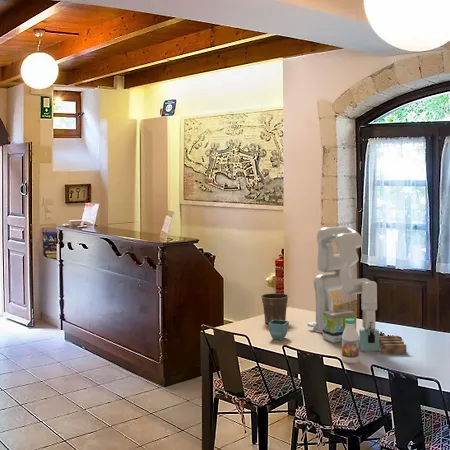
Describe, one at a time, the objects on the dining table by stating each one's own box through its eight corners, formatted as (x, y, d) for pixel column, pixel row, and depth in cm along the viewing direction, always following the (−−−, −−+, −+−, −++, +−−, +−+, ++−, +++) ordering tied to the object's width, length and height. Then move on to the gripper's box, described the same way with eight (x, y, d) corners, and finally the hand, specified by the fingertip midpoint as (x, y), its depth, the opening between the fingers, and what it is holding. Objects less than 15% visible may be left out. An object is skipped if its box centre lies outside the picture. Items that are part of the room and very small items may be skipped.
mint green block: (360, 350, 303) (360, 331, 302) (359, 349, 306) (359, 329, 305) (379, 350, 302) (378, 330, 301) (377, 348, 305) (377, 329, 304)
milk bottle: (340, 359, 290) (339, 317, 289) (355, 358, 291) (355, 317, 289) (344, 364, 283) (344, 321, 281) (360, 363, 283) (360, 320, 281)
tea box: (334, 343, 317) (333, 315, 315) (322, 338, 326) (322, 311, 324) (356, 339, 324) (356, 311, 322) (344, 334, 332) (344, 308, 331)
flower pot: (289, 337, 330) (289, 320, 330) (283, 341, 322) (283, 324, 322) (274, 335, 334) (273, 319, 333) (268, 339, 326) (268, 323, 325)
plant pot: (262, 318, 372) (262, 292, 371) (289, 319, 370) (288, 292, 369) (260, 325, 356) (260, 298, 355) (288, 326, 354) (287, 298, 353)
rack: (383, 353, 297) (383, 345, 296) (376, 344, 313) (376, 336, 312) (406, 353, 296) (406, 344, 296) (398, 344, 312) (398, 335, 312)
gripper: (358, 302, 311) (359, 335, 312) (364, 310, 294) (365, 345, 295) (373, 302, 310) (374, 335, 312) (380, 309, 293) (380, 344, 294)
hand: (369, 340), depth 303 cm, fingers open, 9 cm apart
